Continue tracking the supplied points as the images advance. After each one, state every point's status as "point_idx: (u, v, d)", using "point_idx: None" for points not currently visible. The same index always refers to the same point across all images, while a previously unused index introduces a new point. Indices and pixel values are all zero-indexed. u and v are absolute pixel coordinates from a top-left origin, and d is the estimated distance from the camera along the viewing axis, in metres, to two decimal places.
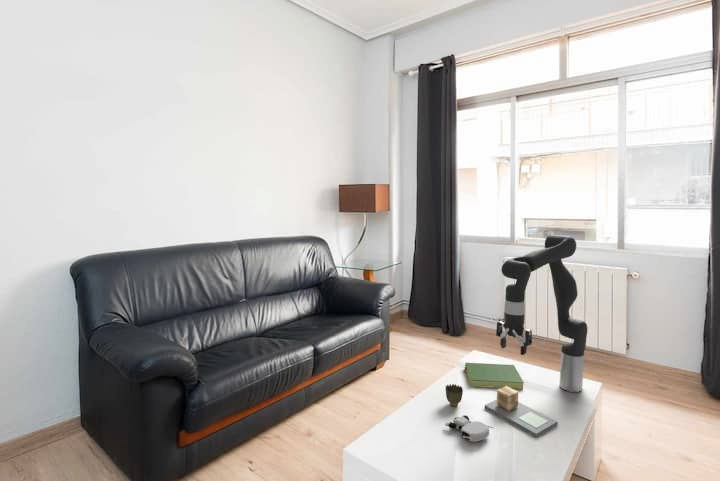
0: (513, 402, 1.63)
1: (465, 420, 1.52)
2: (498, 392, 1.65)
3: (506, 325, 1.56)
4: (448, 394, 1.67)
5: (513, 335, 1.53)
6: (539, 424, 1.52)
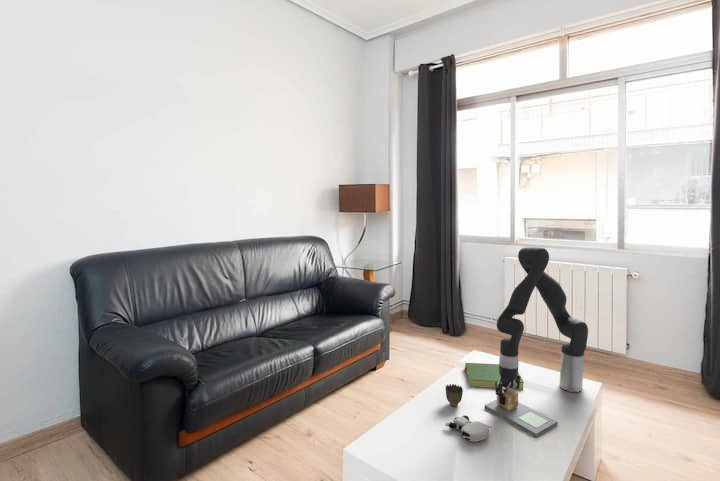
0: (513, 402, 1.63)
1: (465, 420, 1.52)
2: None
3: (506, 380, 1.62)
4: (448, 394, 1.67)
5: (510, 385, 1.64)
6: (539, 424, 1.52)
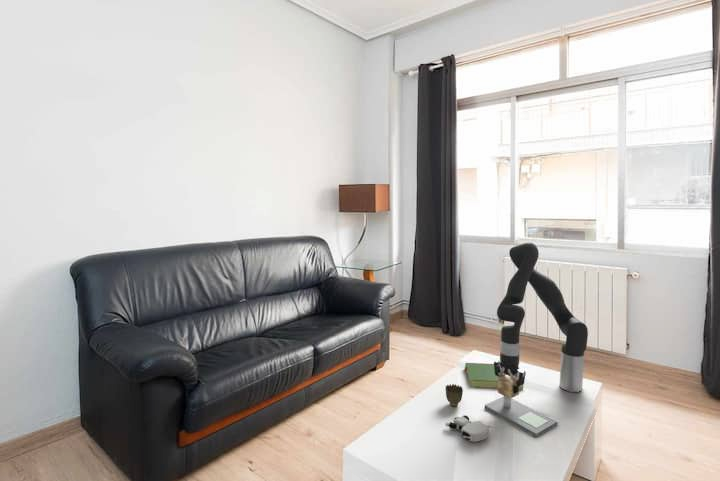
0: None
1: (465, 420, 1.52)
2: (511, 385, 1.60)
3: None
4: (448, 394, 1.67)
5: None
6: (539, 424, 1.52)
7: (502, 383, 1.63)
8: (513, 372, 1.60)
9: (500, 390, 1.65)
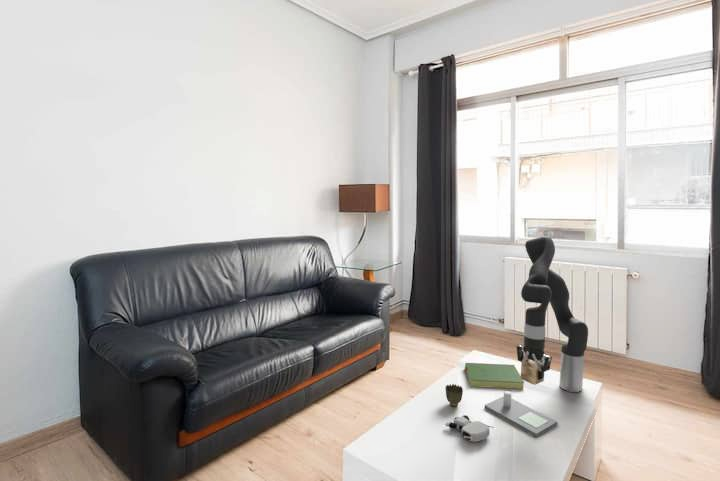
0: None
1: (465, 420, 1.52)
2: (536, 370, 1.50)
3: None
4: (448, 394, 1.67)
5: None
6: (539, 424, 1.52)
7: (526, 368, 1.53)
8: (538, 357, 1.50)
9: (523, 376, 1.54)
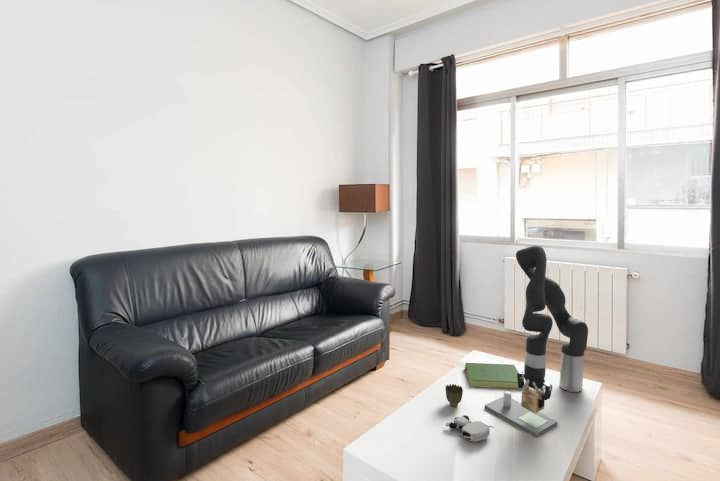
0: None
1: (465, 420, 1.52)
2: (536, 399, 1.51)
3: None
4: (448, 394, 1.67)
5: None
6: (539, 424, 1.52)
7: (526, 396, 1.54)
8: (539, 385, 1.51)
9: (523, 403, 1.55)
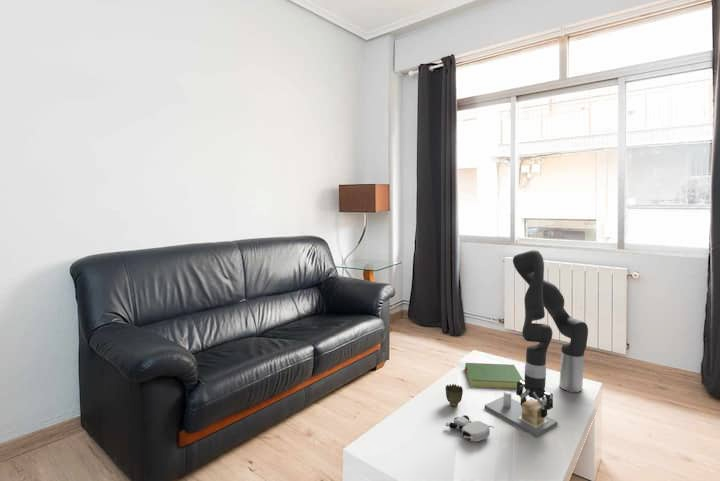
0: None
1: (465, 420, 1.52)
2: (537, 411, 1.51)
3: None
4: (448, 394, 1.67)
5: None
6: (539, 424, 1.52)
7: (527, 409, 1.54)
8: (539, 394, 1.51)
9: (524, 416, 1.55)
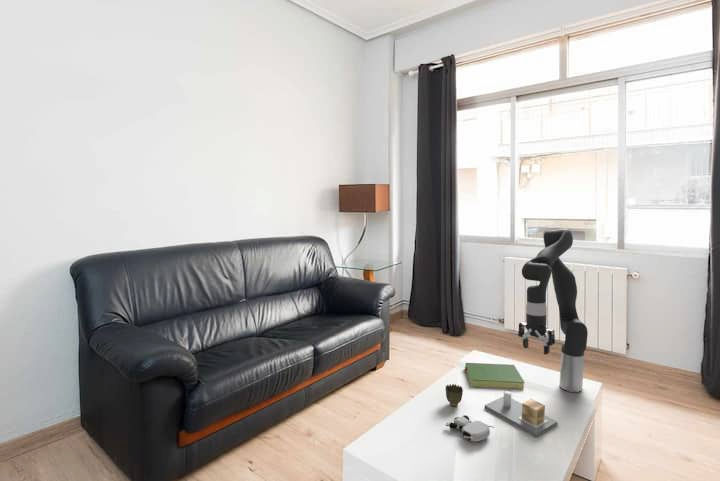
0: None
1: (465, 420, 1.52)
2: (537, 411, 1.51)
3: None
4: (448, 394, 1.67)
5: None
6: (539, 424, 1.52)
7: (527, 409, 1.54)
8: (541, 332, 1.55)
9: (524, 416, 1.55)
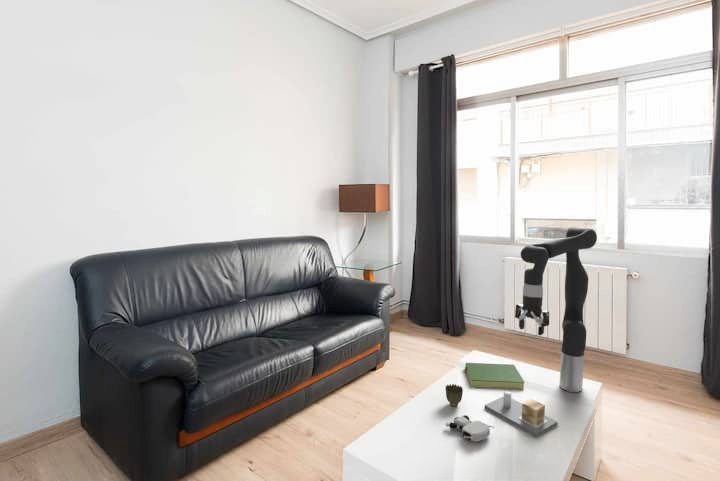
0: None
1: (465, 420, 1.52)
2: (537, 411, 1.51)
3: None
4: (448, 394, 1.67)
5: None
6: (539, 424, 1.52)
7: (527, 409, 1.54)
8: (536, 313, 1.61)
9: (524, 416, 1.55)
